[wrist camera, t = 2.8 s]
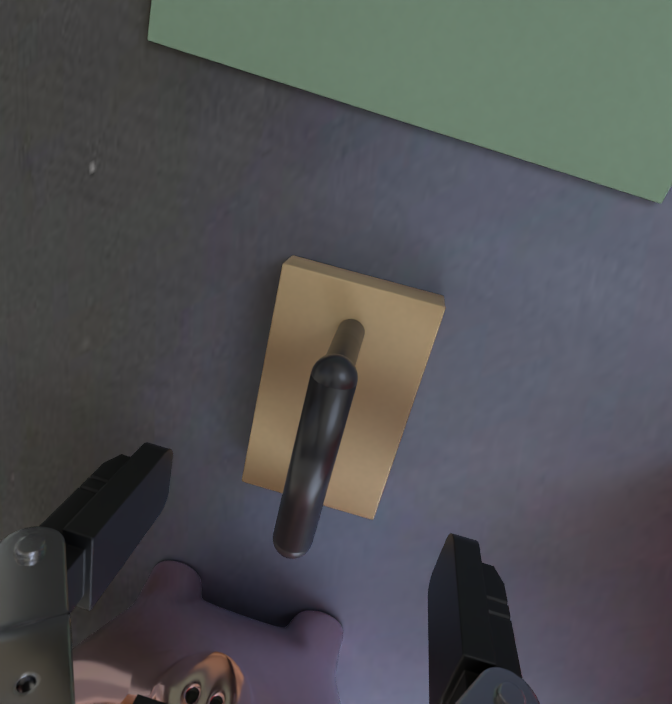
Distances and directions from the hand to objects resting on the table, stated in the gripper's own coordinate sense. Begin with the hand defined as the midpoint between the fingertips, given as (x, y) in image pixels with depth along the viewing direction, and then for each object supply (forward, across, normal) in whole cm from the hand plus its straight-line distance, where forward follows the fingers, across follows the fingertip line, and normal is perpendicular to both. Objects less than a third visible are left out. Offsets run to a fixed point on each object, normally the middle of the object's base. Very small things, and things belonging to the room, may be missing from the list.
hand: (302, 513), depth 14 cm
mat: (+8, 0, -14) cm, 16 cm away
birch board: (+8, 0, 0) cm, 8 cm away
